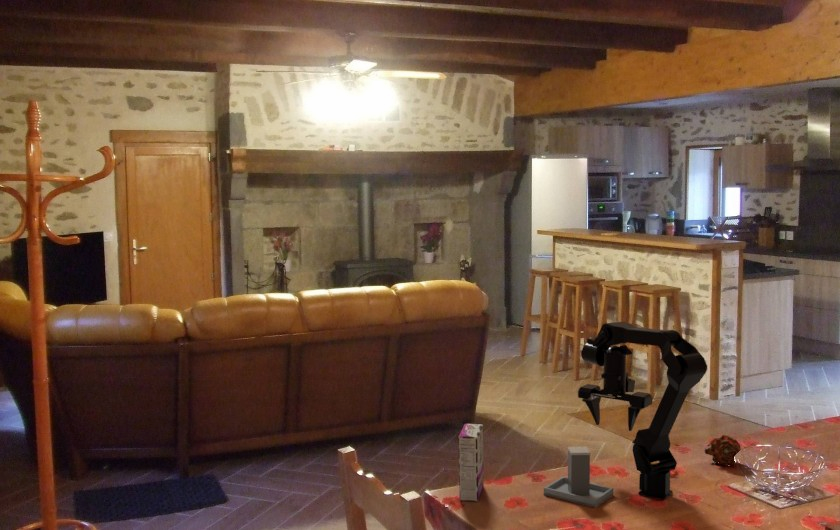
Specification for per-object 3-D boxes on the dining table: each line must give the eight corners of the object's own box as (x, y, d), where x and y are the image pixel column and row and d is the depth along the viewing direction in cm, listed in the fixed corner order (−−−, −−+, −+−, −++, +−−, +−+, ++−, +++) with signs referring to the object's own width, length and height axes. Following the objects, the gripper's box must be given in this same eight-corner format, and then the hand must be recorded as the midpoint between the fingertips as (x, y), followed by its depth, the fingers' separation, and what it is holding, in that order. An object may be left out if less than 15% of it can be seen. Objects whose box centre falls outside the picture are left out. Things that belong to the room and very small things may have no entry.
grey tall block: (585, 489, 204) (586, 446, 203) (590, 496, 199) (590, 452, 198) (567, 489, 204) (567, 446, 203) (570, 496, 199) (571, 452, 198)
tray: (613, 495, 201) (613, 488, 201) (595, 507, 193) (595, 500, 193) (563, 483, 210) (563, 476, 210) (543, 494, 202) (543, 487, 202)
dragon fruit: (733, 477, 217) (712, 469, 229) (756, 457, 218) (734, 449, 230) (714, 452, 217) (694, 445, 228) (737, 432, 218) (716, 426, 230)
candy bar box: (464, 484, 209) (464, 422, 208) (484, 486, 208) (483, 423, 207) (458, 501, 198) (457, 435, 197) (478, 502, 197) (478, 436, 196)
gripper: (661, 368, 213) (660, 426, 214) (595, 360, 224) (595, 415, 226) (644, 376, 204) (643, 436, 206) (577, 367, 216) (576, 424, 217)
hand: (614, 427), depth 214 cm, fingers open, 9 cm apart
